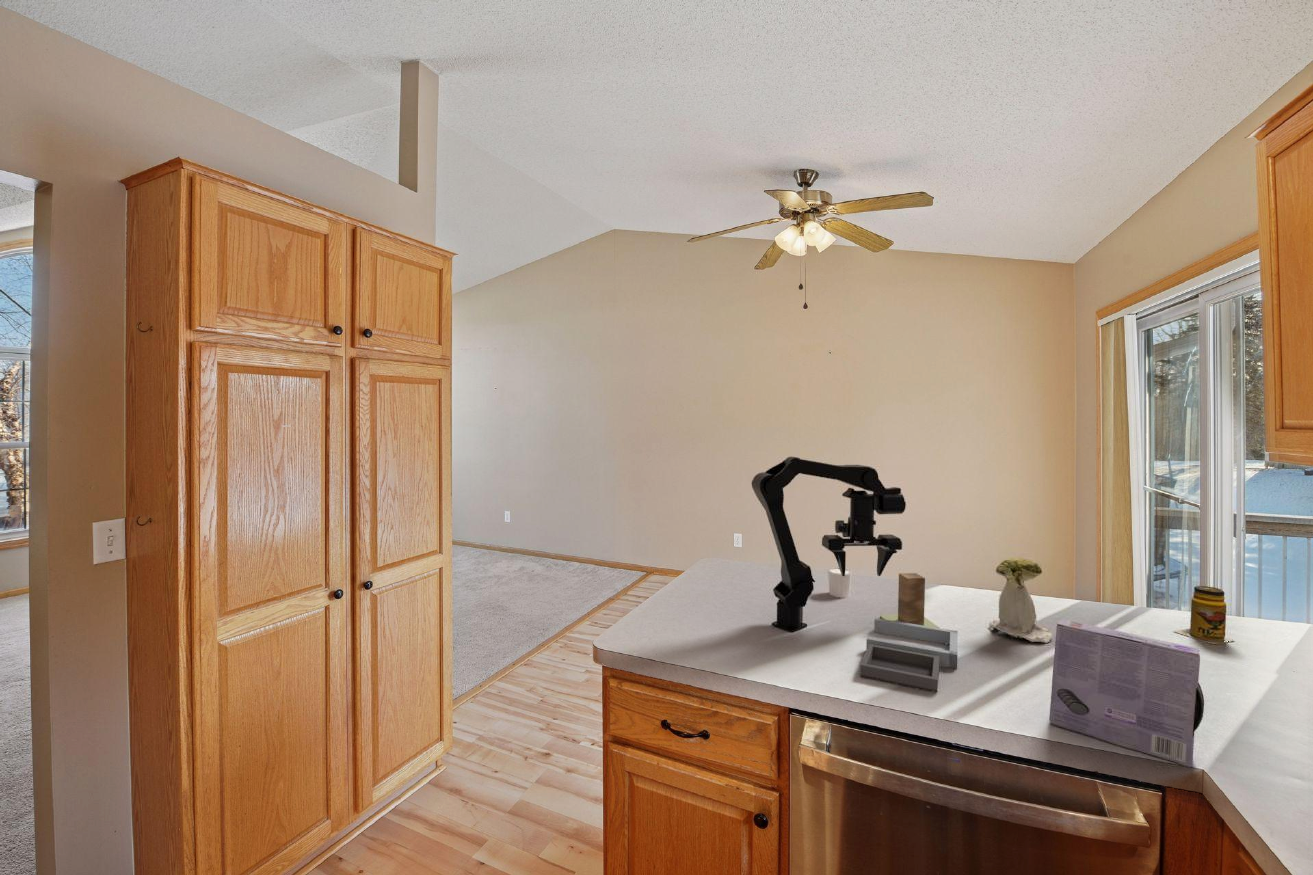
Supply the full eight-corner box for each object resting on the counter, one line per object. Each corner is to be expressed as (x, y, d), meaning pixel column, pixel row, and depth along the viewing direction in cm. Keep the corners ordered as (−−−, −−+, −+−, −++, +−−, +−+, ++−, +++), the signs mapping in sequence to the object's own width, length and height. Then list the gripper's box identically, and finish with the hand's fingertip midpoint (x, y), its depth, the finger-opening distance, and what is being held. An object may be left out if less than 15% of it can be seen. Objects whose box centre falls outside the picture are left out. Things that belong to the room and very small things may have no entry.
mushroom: (1037, 648, 131) (1040, 568, 130) (979, 630, 142) (981, 556, 141) (1060, 637, 138) (1062, 561, 137) (1002, 621, 148) (1004, 550, 148)
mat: (899, 633, 140) (899, 631, 140) (880, 617, 151) (880, 615, 151) (943, 632, 140) (943, 630, 140) (921, 616, 151) (921, 614, 151)
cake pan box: (1201, 757, 90) (1206, 645, 89) (1202, 772, 86) (1207, 655, 85) (1053, 714, 103) (1056, 616, 102) (1048, 725, 99) (1051, 624, 98)
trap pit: (860, 676, 117) (860, 664, 117) (868, 654, 127) (868, 643, 127) (937, 692, 110) (937, 679, 110) (939, 668, 121) (939, 656, 121)
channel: (866, 652, 129) (866, 638, 129) (875, 629, 142) (875, 617, 142) (957, 668, 120) (957, 654, 120) (957, 643, 134) (957, 630, 134)
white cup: (854, 598, 166) (855, 574, 166) (830, 598, 166) (831, 574, 166) (847, 591, 173) (847, 568, 173) (824, 590, 173) (824, 567, 173)
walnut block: (906, 625, 143) (907, 578, 143) (897, 619, 148) (898, 573, 147) (923, 625, 144) (925, 578, 143) (915, 619, 148) (916, 573, 148)
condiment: (1214, 645, 133) (1216, 593, 133) (1172, 631, 142) (1174, 583, 141) (1235, 641, 136) (1237, 591, 135) (1192, 628, 144) (1194, 581, 143)
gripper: (884, 509, 154) (883, 566, 155) (815, 509, 154) (814, 567, 154) (903, 516, 143) (902, 578, 144) (829, 517, 143) (828, 579, 143)
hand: (860, 575), depth 147 cm, fingers open, 9 cm apart
